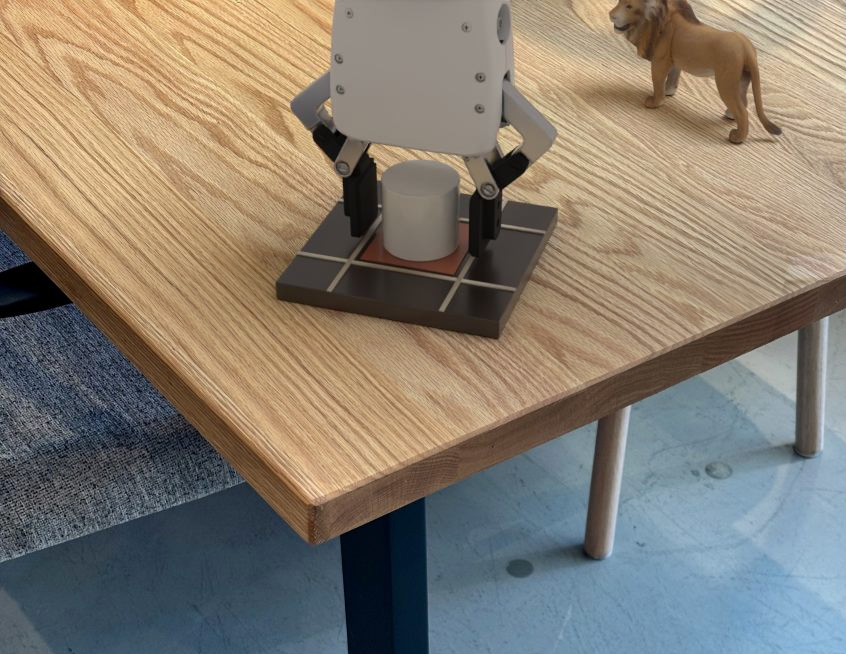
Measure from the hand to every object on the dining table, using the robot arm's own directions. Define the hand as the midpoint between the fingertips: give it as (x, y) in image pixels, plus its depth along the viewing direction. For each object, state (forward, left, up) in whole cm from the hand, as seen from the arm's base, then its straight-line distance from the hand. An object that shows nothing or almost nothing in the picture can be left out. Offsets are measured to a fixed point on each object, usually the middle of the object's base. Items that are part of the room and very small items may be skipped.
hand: (422, 234), depth 82 cm
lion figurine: (-12, -26, -2) cm, 29 cm away
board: (0, 0, -2) cm, 2 cm away
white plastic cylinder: (0, 0, 0) cm, 0 cm away
